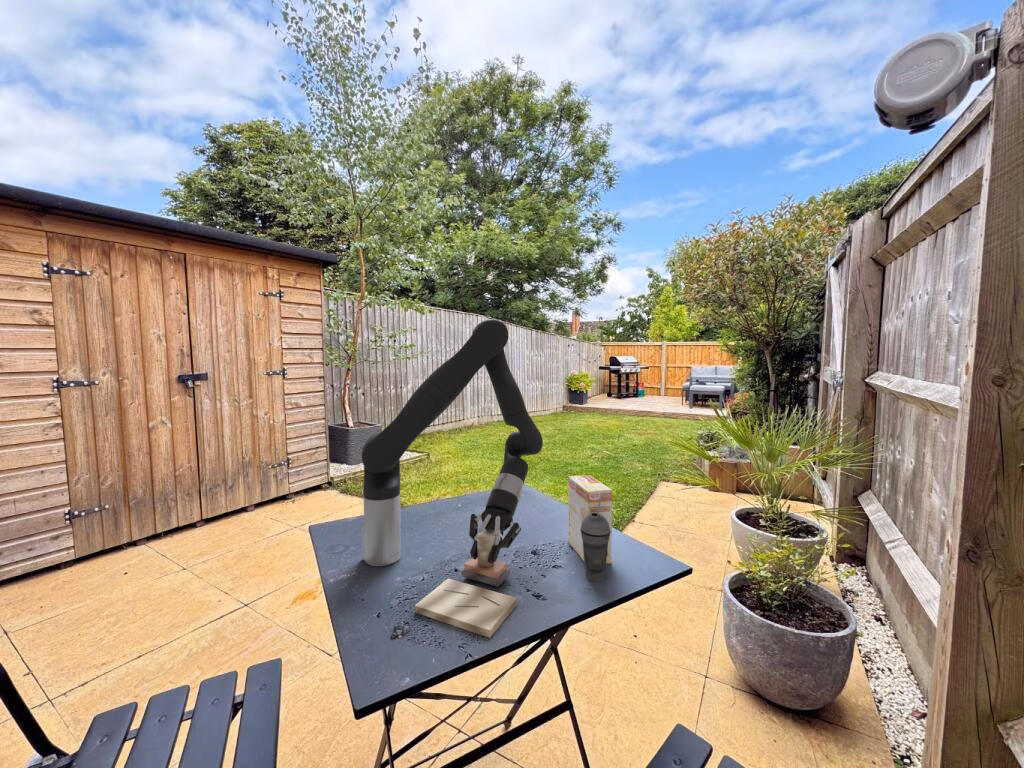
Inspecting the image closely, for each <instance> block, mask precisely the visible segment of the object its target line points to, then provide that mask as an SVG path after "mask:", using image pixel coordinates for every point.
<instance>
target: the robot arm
mask: <svg viewBox="0 0 1024 768" xmlns="http://www.w3.org/2000/svg"><path fill="white" fill-rule="evenodd" d="M508 341H509V330H508V327H507V325H506V324H505V323H504V322H502V321H501V320H500V319H496V318H488V319H485V320H481V322H480V323H478V324H476V326H475V327H474V329H473V330H472V334H471V336H470V337H469V338H468V339H467V340H466V342H465V343H464V345H462V346H461V347H460V349H459V350H458V351H456V353H455V354H453V356H451V357H450V358H449V359H447V360H446V361H445V362H443V363H442V364H441V365H440V366H439V367H437V368H436V369H435V370H434V371H433V372H432V373H431V374H430V375H429V376H428V377H427V378H426V379H425V380H424V381H423V382H422V383H421V384H420V385H419V386H418V387H417V389H416V390H415V391H414V392H413V394H412V395H411V396H410V397H409V399H408V400H407V402H406V403H405V404H404V405H403V407H402V409H401V411H400V412H399V413H398V414H397V416H396V417H395V418H394V420H392V421H391V422H390V423H389V424H388V425H387V426H386V427H385V428H384V429H383V430H382V431H380V432H378V433H374V434H372V435H371V436H370V437H369V438H368V439H367V440H366V441H365V444H364V446H363V447H362V450H361V461H362V464H363V487H362V490H363V492H362V493H363V523H362V524H361V525H360V526H361V530H360V531H361V560H363V561H364V562H365V564H367V565H368V566H372V567H385V566H388V565H392V564H394V563H396V562H398V561H400V559H401V557H402V534H401V533H402V530H401V527H402V526H401V523H402V522H401V521H402V520H401V461H400V460H401V458H402V456H403V455H404V454H405V452H406V451H407V450H408V448H410V446H411V445H412V444H413V442H414V441H415V440H416V438H417V437H418V436H420V434H422V432H423V431H425V430H426V429H427V428H428V427H429V426H430V425H431V424H433V423H434V422H435V421H436V420H437V419H438V418H439V417H440V415H442V414H443V413H444V412H445V411H446V410H447V409H448V408H449V406H450V405H451V404H452V403H453V402H454V401H455V400H456V399H457V397H458V396H459V395H460V394H462V392H463V391H464V389H465V388H466V387H467V386H468V385H469V383H470V382H471V381H472V379H473V378H474V376H475V375H476V374H477V373H478V372H479V371H480V369H482V368H483V366H485V369H486V372H487V373H488V377H489V378H490V382H491V385H492V387H493V391H494V394H495V397H496V400H497V404H498V406H499V409H500V413H501V416H502V418H503V422H504V423H505V425H507V426H509V427H515V428H516V429H517V431H513V432H511V433H510V434H509V435H508V436H507V438H506V441H505V444H504V452H503V453H504V455H503V456H504V457H503V463H502V465H501V467H500V471H499V474H498V476H497V478H496V480H495V482H494V483H493V486H492V489H491V492H490V494H489V497H488V499H487V502H486V504H485V509H484V511H482V513H481V514H477V515H476V514H475V513H472V514H471V515H470V521H469V531H468V532H469V533H468V535H469V537H470V538H471V539H472V541H473V543H472V546H471V549H470V551H469V555H470V557H471V558H473V559H475V560H476V559H477V549H478V534H479V533H481V532H492V533H494V545H493V546H492V548H491V551H490V554H489V557H488V562H489V563H490V564H493V563H494V562H495V561H496V560H497V561H498V557H499V554H500V551H501V549H503V548H504V549H509V547H510V546H511V545H512V543H514V541H515V539H516V537H518V535H519V534H520V532H521V530H522V528H521V526H520V524H519V522H515V521H514V520H513V517H514V516H515V513H516V511H517V507H518V505H519V501H520V499H521V496H522V493H523V488H524V484H525V481H526V478H527V475H528V471H529V464H528V463H527V461H526V460H525V459H523V458H522V456H535V455H537V454H539V453H540V452H541V451H542V449H543V445H544V440H543V437H542V434H541V431H540V430H539V428H538V427H537V425H536V423H535V422H534V421H533V419H532V417H531V416H530V414H529V413H528V411H527V407H526V403H525V400H524V398H523V395H522V392H521V389H520V387H519V385H518V383H517V381H516V380H515V378H514V375H513V373H512V371H511V370H510V367H509V364H508V361H507V358H506V353H505V347H506V345H507V344H508ZM481 522H482V524H481V525H480V523H481ZM479 525H480V526H479ZM507 529H509V530H508V532H507V533H506V535H505V531H506V530H507Z"/></svg>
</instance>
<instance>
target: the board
mask: <svg viewBox="0 0 1024 768" xmlns="http://www.w3.org/2000/svg"><path fill="white" fill-rule="evenodd" d="M517 605H518V597H517V596H511V595H508V594H505V593H501V592H498V591H493V590H490V589H487V588H484V587H480V586H477V585H472V584H469V583H465V582H463V581H459V580H454V579H452V578H447V579H446V580H444V581H443V582H442V583H441V584H439V585H438V586H437V587H436V588H435V589H433V590H432V591H431V592H429V594H428V593H427V595H426V596H424V597H423V598H422V599H421V600H420V601H419V602H417V603H416V604H414V613H416V614H419V615H422V616H424V617H428V618H430V619H433V620H435V621H439V622H442V623H444V624H445V623H446V624H447V625H451V626H453V627H456V628H459V629H463V630H466V631H469V632H471V633H474V634H477V635H480V636H483V637H486V638H491V637H492V636H493V635H494V634H495V632H496V631H497V630H498V629H499V628H500V626H501V625H502V624H503V623H504V622H505V620H507V618H508V616H509V615H510V614H511V613H512V612H513V610H514V609H515V608H516V606H517Z"/></svg>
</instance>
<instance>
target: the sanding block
mask: <svg viewBox="0 0 1024 768" xmlns="http://www.w3.org/2000/svg"><path fill="white" fill-rule="evenodd" d="M494 540H495V534H494V533H492V532H481V533H479V534H478V549H477V559H476V560H475V559H473V558H472V557H471V558H469V560H467V561H465V562H464V564H463V566H464V567H463V568H462V569H461V575H460V576H461V578H466V579H470V580H471V581H472V580H473V581H476V582H480V583H484V584H488V585H491V586H493V587H500V586H501V585H502V583H504V581H506V579H507V578H508V577H509V576H510V575H511V568H508V563H507V562H505V561H500V560H498V559H497V560H496V561H495V562H494V563H493V564H490V563H489V562H488V557H489V554H490V551H491V548H492V546H493V545H494Z"/></svg>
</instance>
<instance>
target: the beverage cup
mask: <svg viewBox="0 0 1024 768" xmlns="http://www.w3.org/2000/svg"><path fill="white" fill-rule="evenodd" d="M600 504H601V497H599V504H598V511H597V513H591V514H589V515H587V516H586V517H585V518H584V519H583V521H582V524H581V529H580V531H581V536H582V539H583V553H584V561H583V565H584V573H585V578H586V579H587V580H589V581H592V582H600V581H603V580H604V579H605V574H606V566H607V564H606V558H607V549H608V541H609V537H610V533H611V531H610V526H609V523H608V521H607V519H606V518H605V517H604V516H603V515H601V514H599V512H600Z"/></svg>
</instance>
